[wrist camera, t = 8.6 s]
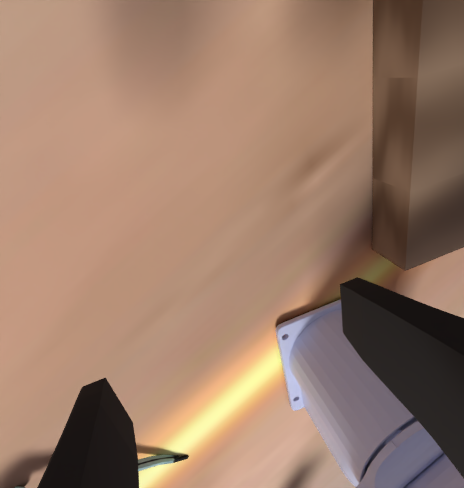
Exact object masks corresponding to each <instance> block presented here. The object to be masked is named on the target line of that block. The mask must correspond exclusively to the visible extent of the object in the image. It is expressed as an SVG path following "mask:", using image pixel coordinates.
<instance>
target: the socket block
mask: <svg viewBox="0 0 464 488" xmlns="http://www.w3.org/2000/svg"><path fill="white" fill-rule="evenodd" d="M463 247H464V0H373V213H372V249H373V250H374V251H376V252H377V253H379V254H380V255H382V256H383V257H385V258H386V259H388V260H389V261H391V262H392V263H394V264H395V265H397V266H399V267H400V268H402V269H403V270H405V271H406V270H408V269H411V268H413V267H416V266H418V265H421V264H423V263H426V262H428V261H431V260H433V259H436V258H438V257H440V256H443V255H445V254H448V253H450V252H453V251H455V250H458V249H460V248H463Z"/></svg>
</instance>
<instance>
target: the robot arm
mask: <svg viewBox="0 0 464 488" xmlns="http://www.w3.org/2000/svg"><path fill="white" fill-rule="evenodd" d="M340 291H341V299H340V300H337V301H335V302H332V303H330V304H327V305H325V306H323V307H320V308H318V309H315V310H313V311H310V312H308V313H305V314H303V315H300V316H298V317H295V318H293V319H291V320H288V321H286V322H283V323H281V324H279V325H278V326H277V327H276V336H277V341H278V346H279V351H280V356H281V361H282V366H283V371H284V377H285V382H286V387H287V392H288V397H289V402H290V406H291V408H292V410H299V409H301V408H303V407H305V409H306V410H307V412H308V414H309V416H310V417H311V419H312V421H313V422H314V424H315V426H316V428H317V429H318V431H319V433H320V434H321V436H322V438H323V440H324V441H325V443H326V445H327V446H328V448H329V450H330V451H331V453H332V455H333V457H334V458H335V460H336V462H337V463H338V465H339V467H340V469H341V470H342V472H343V473H344V475H345V476H346V477H347V479H348V480H349V481H350V482H351V483H352V484H353V485H354V486H355V487H356V488H464V318H461V317H458V316H455V315H453V314H450V313H447V312H444V311H442V310H439V309H436V308H433V307H431V306H428V305H426V304H423V303H420V302H418V301H415V300H413V299H410V298H408V297H405V296H403V295H400V294H398V293H395V292H393V291H390V290H388V289H385V288H383V287H381V286H378V285H376V284H373V283H371V282H368V281H365V280H363V279H360V278H355V279H353V280H350V281H348V282H345V283H342V284H340ZM284 334H285V335H284ZM283 335H284V336H283ZM37 488H139V475H138V457H137V449H136V442H135V435H134V428H133V422H132V420H131V419H130V417H129V415H128V414H127V412H126V411H125V409H124V407H123V406H122V404H121V402H120V401H119V399H118V397H117V396H116V394H115V393H114V391H113V389H112V388H111V386H110V384H109V383H108V381H107V379H106V378H103V379H101V380H98V381H96V382H93V383H91V384H88V385H86V386H83V387H82V389H81V391H80V393H79V395H78V397H77V400H76V402H75V405H74V407H73V409H72V412H71V414H70V416H69V419H68V421H67V423H66V426H65V428H64V430H63V433H62V435H61V437H60V439H59V442H58V444H57V446H56V448H55V451H54V453H53V455H52V457H51V459H50V462H49V464H48V466H47V468H46V470H45V472H44V475H43V477H42V479H41V481H40V483H39V485H38V487H37Z"/></svg>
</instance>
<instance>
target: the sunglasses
mask: <svg viewBox="0 0 464 488" xmlns="http://www.w3.org/2000/svg"><path fill="white" fill-rule="evenodd" d="M188 457H189V456H188V455H184V456H181V457H179V456H175V455H157V456H151V457H147V458H143V459H139V460H138V471H141V470H143V469H147V468H150V467H153V466H157V465H161V464H168V463H174V462H178V461H181V460H184V459H188ZM15 488H25V487H19V486H17V487H15Z"/></svg>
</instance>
